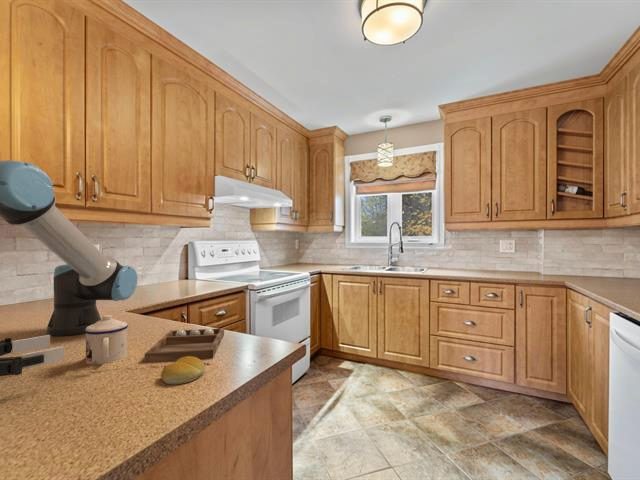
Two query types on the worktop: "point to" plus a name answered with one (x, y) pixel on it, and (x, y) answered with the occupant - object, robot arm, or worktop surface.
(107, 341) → the teacup with lid
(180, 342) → the parts tray
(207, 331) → the pebble
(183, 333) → the pebble
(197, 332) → the pebble
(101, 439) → the worktop surface
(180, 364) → the bread roll
